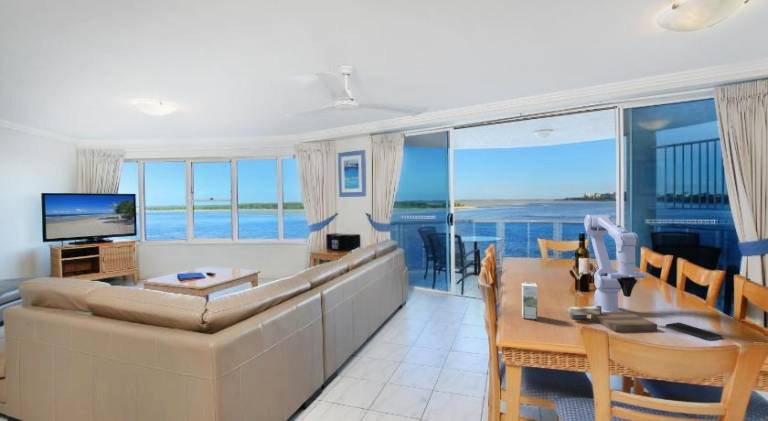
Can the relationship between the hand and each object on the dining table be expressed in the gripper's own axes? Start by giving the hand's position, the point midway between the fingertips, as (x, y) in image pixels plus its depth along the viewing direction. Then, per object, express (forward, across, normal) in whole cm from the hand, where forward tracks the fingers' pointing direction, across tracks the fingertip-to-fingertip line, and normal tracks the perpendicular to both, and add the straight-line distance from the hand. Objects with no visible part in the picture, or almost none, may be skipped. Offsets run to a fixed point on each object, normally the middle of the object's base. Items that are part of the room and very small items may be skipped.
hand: (626, 296), depth 145 cm
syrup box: (+11, -36, +8) cm, 39 cm away
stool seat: (+10, -4, -3) cm, 12 cm away
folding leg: (+8, -16, +3) cm, 18 cm away
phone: (+11, +16, -12) cm, 23 cm away
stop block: (+10, -17, +6) cm, 21 cm away
